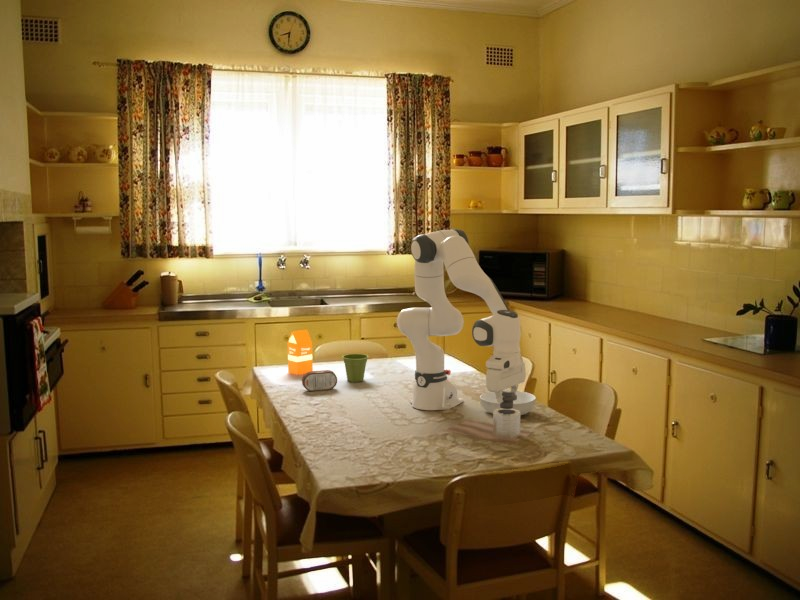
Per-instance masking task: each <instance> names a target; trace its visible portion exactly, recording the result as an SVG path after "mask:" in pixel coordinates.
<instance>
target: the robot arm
mask: <svg viewBox="0 0 800 600" xmlns="http://www.w3.org/2000/svg"><path fill="white" fill-rule="evenodd" d="M410 253H411V256H412V257H413V259H414V291H415V292H414V293H415V294H416V296H417V297H418V298H419V299H421V300H422V301H425V302H426V303H428V304H429V306H431V307H420V306H418V307H414V306H413V307H409V308H404V309H401V311H400V312H399V313H398V314H397V317H396V325H397V328H398V331H399V332H400V333H401V334H402V335H404V336H405V337H407V339H408V340H409V341H410V343H411V345H412V347H413V350H414V353H415V354H414V356H415V371H414V380H415V382H413V389H412V399H411V400H410V403H411V407H413V408H415V409H417V410H422V411H442V410H444V411H447V410H449V409H451V408H454V407H457V406H458V405H461V403H463V402H464V398H462V397H461V396H458V387H456V385H455V384H454V383H452V381H450V380H449V379H448V376H450V375H451V373H452V370H450V369H445V352H444V350H443V347H440V346H439V345H438V344H435V343H433V342H432V341H431V340H430V339H429V337H432V336H433V337H435V336H436V337H448V336H454V335H458V334H459V333H460V332H461V331H462V330H463V328H464V323H465V321H464V316H463V314H462V313H461V311H460V310H459V309H458V308H456V307H455V306H454V305H453V304H452V303H451V302H450V301H449V299H448V297H447V295H446V289H445V281H444V280H445V278H444V277H445V276H444V273H445V271H444V269H445V270H446V273H447V276H448V278H449V280H450V282H451V283H452V284H453V286H454V287H455V288H457V289H459V290H461V291H464V292H468V293H472V294H475V295H476V296H479V297H480V298H481V299H482V300H484V301H485V303H486V305H487V307H488V309H489V311H490V312H491V313H492V315H490V316H486V317H484V318H480V319H477V320H476V321H475V322H474V323H473V325H472V328H471V334H472V335H471V336H472V338H473V341H474V342H475V343H476V344H477V345H478V346H480V347H493V354H491V356H490V357H489V358H488V359H487V360H486V361H485V367H486V375H485V382H486V386H485V387H486V389H487V392H495V394H496V397H497V402H498V403H502V402H504V397H502V393H503V390H506V389H507V390H508V389H509V388H510V390H511V392H512V393H513V394H515V395H516V392H517V391H518V389H519V384H522V383H524V382H526V379H527V376H526V373H527V372H526V365H525V364H526V363H525V362H524V358H523V356H522V355H521V345H520V342H521V338H522V326H521V320H520V316H519V314H518V313H517V312H515V311H513V310H511V309H510V307H509V306H508V304H507V303H506V300H505V299H504V297H503V296H502V293H501V292H500V291H499V288H498V287H497V286H496V283H494V281H493V279H492V278H491V277H490V276H488V275H487V274H486V273H485V272H484V270H483V269H482V268H481V266H480V265H479V263H478V261H477V258H476V256H475V254H474V252H473V250H472V248H471V247H470V243H469V238H468V235H467V234H466V232H465V231H463V230H462V229H457V228H452V229H441V230H437V231H431V232H429V233H428V232H427V233H422V234H418V235H416V236H414V237H413V238H412V240H411V243H410ZM444 267H445V268H444ZM447 375H448V376H447Z"/></svg>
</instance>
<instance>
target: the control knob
mask: <svg viewBox="0 0 800 600" xmlns="http://www.w3.org/2000/svg"><path fill="white" fill-rule="evenodd" d="M502 397H504V402H502V403H500V408H503V409H512V408H513V401H514V400H517V395H515V394H513V393H512V392H506V391H503V393H502ZM496 399H497V397H496Z"/></svg>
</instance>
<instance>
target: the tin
mask: <svg viewBox="0 0 800 600" xmlns="http://www.w3.org/2000/svg"><path fill="white" fill-rule="evenodd" d="M301 379H302V380H301V384H302V386H303V388H305V390H307V391H309V392H320V390H322V391H330V389H331V390H332V389H334V388H335V387H336V386H337V384H338V377H337V375H336V374H335V372H334V371H332V370H330V369H328V370H326V369H325V370H313V371H310V372H307V373H304V374H303V376H302V378H301Z"/></svg>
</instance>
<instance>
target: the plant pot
mask: <svg viewBox="0 0 800 600" xmlns="http://www.w3.org/2000/svg"><path fill="white" fill-rule="evenodd" d="M341 357H342V359H343V363H344V367H345V374H346V379H347V381H348V382H350V381H351V382H350V383H359V382H361V381H362V382H363V381H364V380H365V373H366V372H365V371H366V366H367V363H368V358H369V357H370V356H369V355H368V354H365V353H350V354H349V353H348V354H344V355H342V356H341Z"/></svg>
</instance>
